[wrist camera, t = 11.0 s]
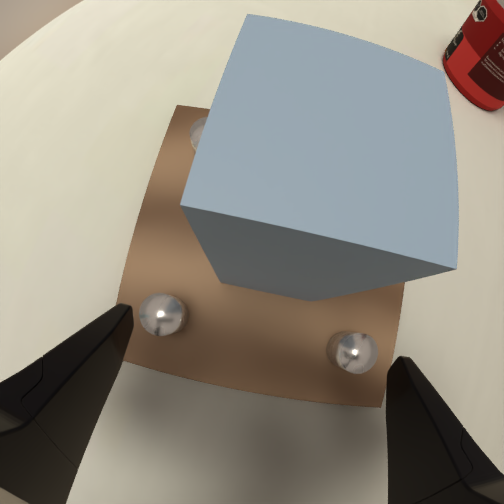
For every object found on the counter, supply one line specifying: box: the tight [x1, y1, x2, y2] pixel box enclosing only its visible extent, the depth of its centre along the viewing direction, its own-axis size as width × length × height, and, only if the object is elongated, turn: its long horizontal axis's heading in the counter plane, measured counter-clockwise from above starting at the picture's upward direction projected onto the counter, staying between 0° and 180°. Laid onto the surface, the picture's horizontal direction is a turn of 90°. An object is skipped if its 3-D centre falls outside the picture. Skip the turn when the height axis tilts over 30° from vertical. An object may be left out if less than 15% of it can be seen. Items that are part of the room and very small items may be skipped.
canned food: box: [443, 0, 504, 111], centre depth 17 cm, size 8×8×11 cm
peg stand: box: [116, 105, 405, 408], centre depth 17 cm, size 16×16×3 cm
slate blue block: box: [180, 14, 459, 302], centre depth 12 cm, size 5×5×12 cm
